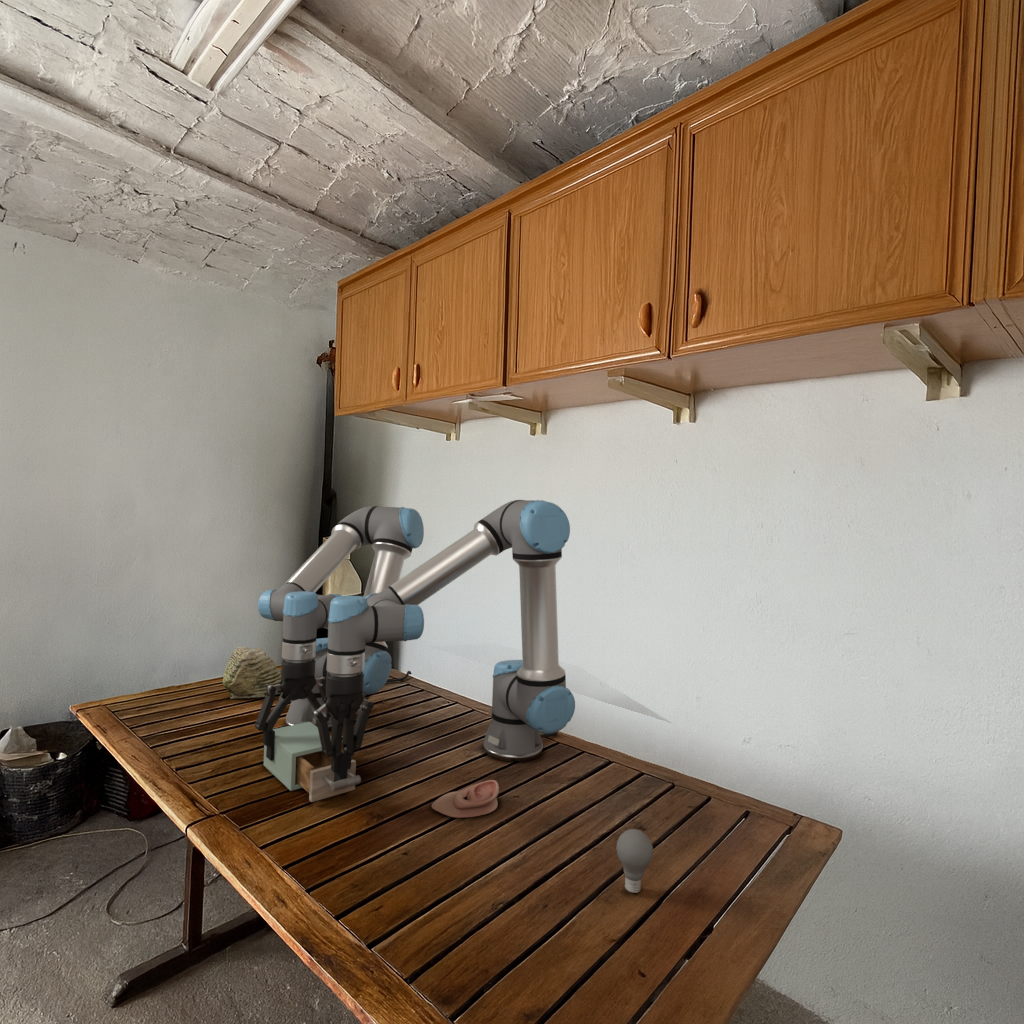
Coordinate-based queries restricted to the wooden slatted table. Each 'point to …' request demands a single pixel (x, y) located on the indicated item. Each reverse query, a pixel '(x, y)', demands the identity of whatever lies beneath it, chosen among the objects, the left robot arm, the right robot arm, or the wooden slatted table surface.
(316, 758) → the drawer
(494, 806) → the anatomical model
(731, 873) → the wooden slatted table surface
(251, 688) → the fossil
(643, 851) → the light bulb
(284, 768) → the cabinet
